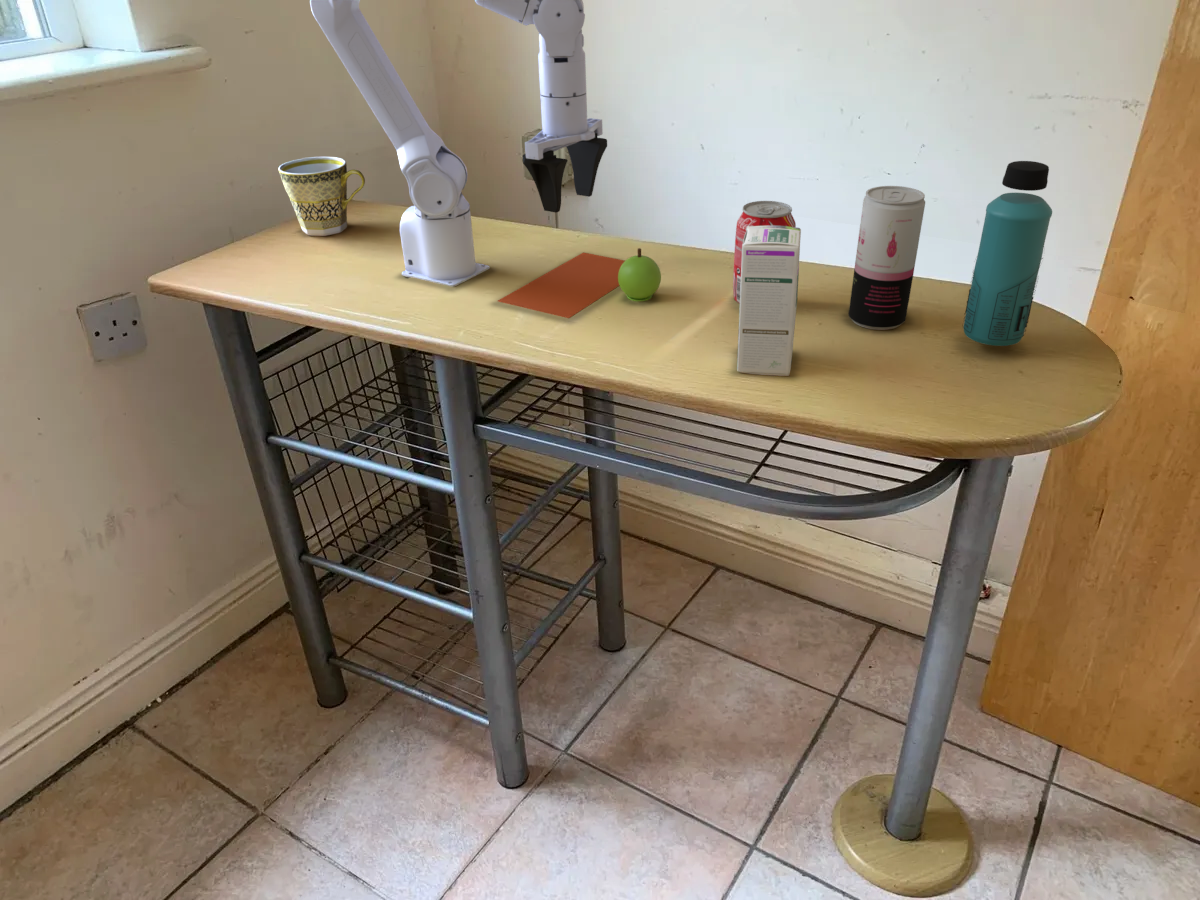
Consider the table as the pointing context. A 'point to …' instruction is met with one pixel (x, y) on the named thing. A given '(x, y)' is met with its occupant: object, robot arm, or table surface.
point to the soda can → (757, 216)
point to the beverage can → (886, 256)
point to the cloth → (569, 286)
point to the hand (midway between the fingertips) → (568, 202)
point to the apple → (639, 277)
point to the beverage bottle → (1009, 258)
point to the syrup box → (768, 299)
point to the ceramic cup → (319, 193)
